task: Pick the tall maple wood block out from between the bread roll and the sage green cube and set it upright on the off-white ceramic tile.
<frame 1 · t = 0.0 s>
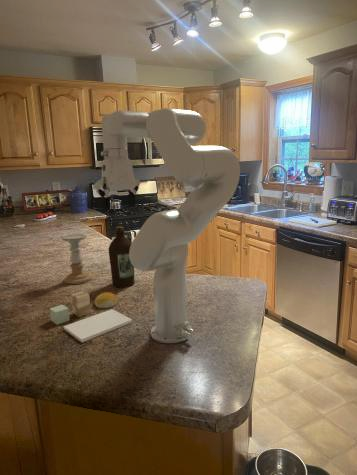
hand: (119, 207, 116), 37 cm above the worktop, tool pointing down, fingers open, 9 cm apart
candle holder: (78, 280, 159), on the worktop
sage cube: (60, 320, 118), on the worktop
maple block: (82, 313, 124), on the worktop
ceramic tile: (98, 325, 114), on the worktop
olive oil: (123, 284, 151), on the worktop
bread roll: (106, 304, 131), on the worktop
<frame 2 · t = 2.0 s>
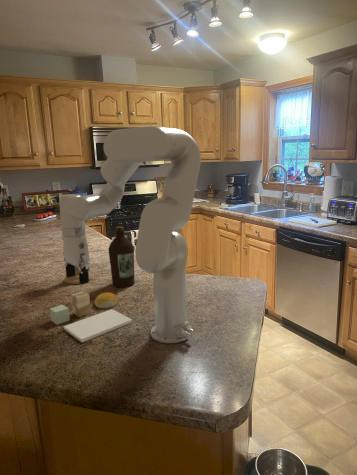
hand: (77, 279, 121), 12 cm above the worktop, tool pointing down, fingers open, 9 cm apart
nothing on the worktop moved.
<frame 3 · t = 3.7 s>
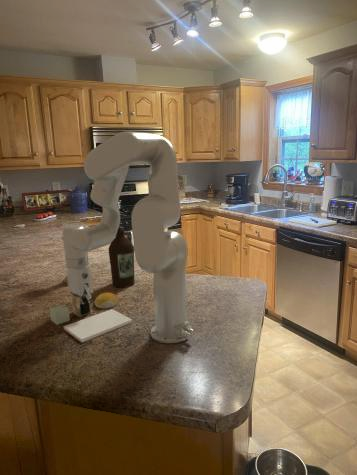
hand: (81, 310, 123), 1 cm above the worktop, tool pointing down, fingers closed on maple block, 4 cm apart
maple block: (82, 313, 124), on the worktop, touching gripper
everything else where it was.
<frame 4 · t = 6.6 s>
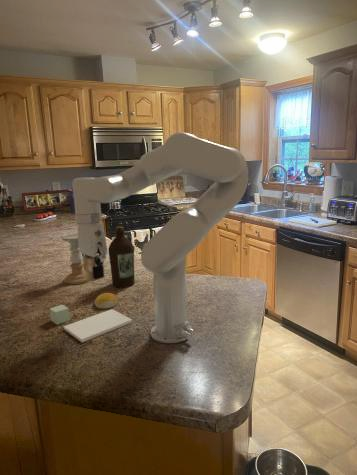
hand: (94, 275, 110), 17 cm above the worktop, tool pointing down, fingers closed on maple block, 4 cm apart
maple block: (94, 278, 110), point 16 cm above the worktop, touching gripper
everything else where it was.
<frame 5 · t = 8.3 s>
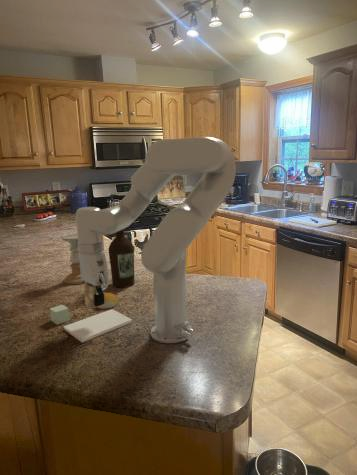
hand: (95, 302, 112), 8 cm above the worktop, tool pointing down, fingers closed on maple block, 4 cm apart
maple block: (95, 304, 112), point 7 cm above the worktop, touching gripper
everything else where it was.
when the fingers open (3 cm above the worktop, at t = 9.6 s): maple block drops 2 cm, resting on ceramic tile.
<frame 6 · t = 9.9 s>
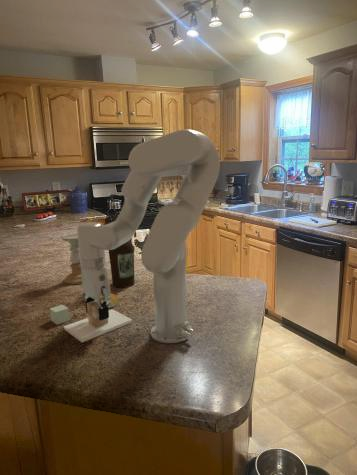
hand: (97, 314, 113), 4 cm above the worktop, tool pointing down, fingers open, 7 cm apart
maple block: (98, 323, 113), point 1 cm above the worktop, touching ceramic tile
everything else where it was.
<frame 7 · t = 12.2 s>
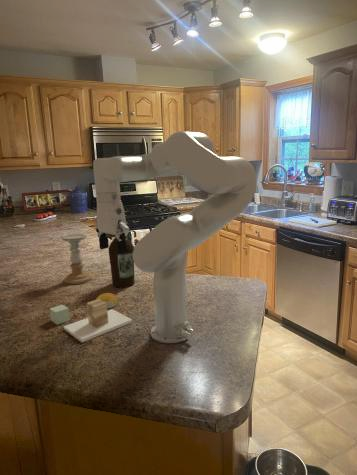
hand: (113, 250, 114), 24 cm above the worktop, tool pointing down, fingers open, 9 cm apart
nothing on the worktop moved.
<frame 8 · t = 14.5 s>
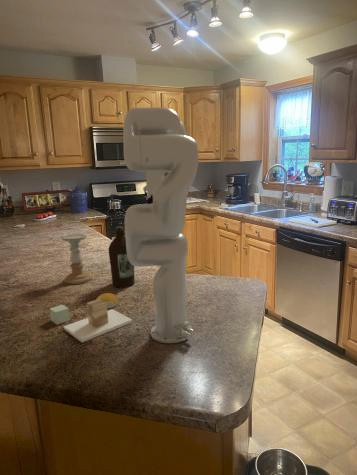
hand: (159, 211, 130), 33 cm above the worktop, tool pointing down, fingers open, 9 cm apart
nothing on the worktop moved.
at the end: maple block inside the target area on the ceramic tile (0.1 cm from its centre), point 1.0 cm above the ceramic tile's base; maple block tilted 0°; the gripper is holding nothing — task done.
